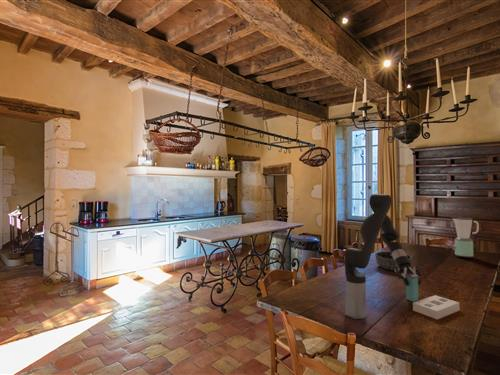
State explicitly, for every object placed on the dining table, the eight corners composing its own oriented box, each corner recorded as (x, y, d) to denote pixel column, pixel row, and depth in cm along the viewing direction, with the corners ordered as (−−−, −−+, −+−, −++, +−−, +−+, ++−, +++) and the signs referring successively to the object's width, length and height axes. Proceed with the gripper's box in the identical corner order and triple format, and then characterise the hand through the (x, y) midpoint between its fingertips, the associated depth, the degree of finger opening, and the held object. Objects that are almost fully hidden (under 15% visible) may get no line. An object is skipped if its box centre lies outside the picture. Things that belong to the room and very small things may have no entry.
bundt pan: (419, 268, 226) (419, 255, 226) (401, 275, 211) (400, 261, 211) (386, 261, 248) (386, 249, 248) (368, 267, 233) (368, 254, 233)
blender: (451, 257, 258) (451, 217, 258) (453, 254, 269) (452, 216, 268) (479, 260, 246) (478, 218, 246) (479, 257, 257) (478, 217, 257)
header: (437, 319, 141) (437, 310, 141) (413, 310, 151) (412, 302, 151) (459, 310, 150) (459, 302, 150) (435, 302, 161) (435, 294, 161)
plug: (413, 301, 163) (413, 276, 162) (406, 299, 167) (405, 274, 166) (418, 300, 165) (418, 275, 164) (410, 297, 169) (410, 273, 168)
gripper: (391, 255, 172) (404, 282, 161) (415, 254, 174) (429, 281, 162) (387, 262, 178) (398, 288, 166) (409, 261, 179) (422, 287, 167)
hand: (413, 284), depth 164 cm, fingers open, 6 cm apart
